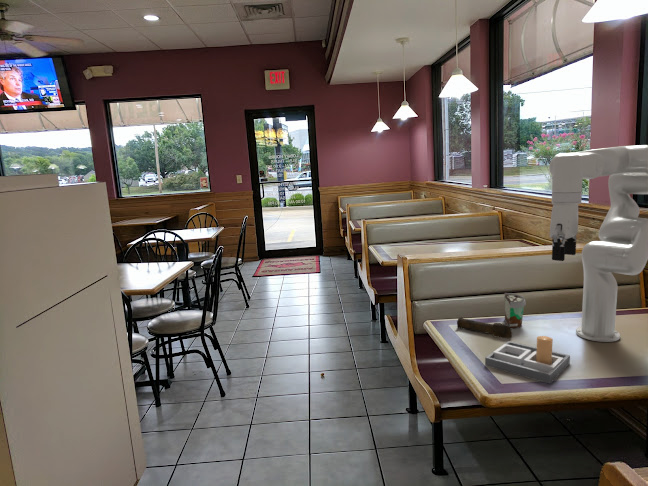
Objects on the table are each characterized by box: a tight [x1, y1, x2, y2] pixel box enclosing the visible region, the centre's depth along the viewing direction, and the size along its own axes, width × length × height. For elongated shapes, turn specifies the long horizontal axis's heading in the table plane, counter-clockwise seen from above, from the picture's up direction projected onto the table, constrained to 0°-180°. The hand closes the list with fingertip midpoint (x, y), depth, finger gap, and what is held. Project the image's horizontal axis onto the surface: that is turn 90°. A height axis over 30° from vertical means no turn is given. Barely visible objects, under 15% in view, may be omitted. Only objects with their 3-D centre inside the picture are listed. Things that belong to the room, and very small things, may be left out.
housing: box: [484, 340, 571, 384], centre depth 136 cm, size 16×18×3 cm
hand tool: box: [456, 317, 513, 339], centre depth 161 cm, size 19×4×5 cm, turn 45°
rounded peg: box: [536, 335, 554, 365], centre depth 132 cm, size 4×4×8 cm
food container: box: [504, 292, 527, 329], centre depth 168 cm, size 12×6×10 cm, turn 168°
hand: (563, 257), depth 136 cm, fingers open, 9 cm apart
